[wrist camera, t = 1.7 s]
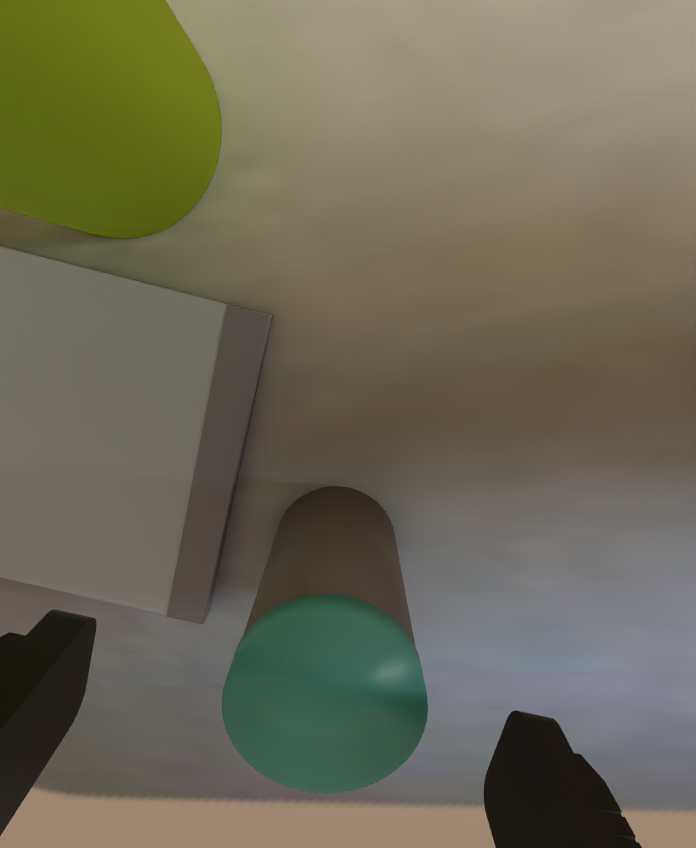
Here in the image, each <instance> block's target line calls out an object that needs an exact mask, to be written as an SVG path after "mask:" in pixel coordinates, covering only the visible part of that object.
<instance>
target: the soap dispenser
mask: <svg viewBox="0 0 696 848" xmlns="http://www.w3.org/2000/svg"><path fill="white" fill-rule="evenodd" d="M220 141H221V119H220V110H219V104H218V100H217V96H216V92H215V89H214V85H213V83H212V80H211V77H210V75H209V73H208V71H207V68H206V67H205V65H204V63H203V61H202V59H201V57H200V56H199V54H198V52H197V51H196V49H195V48H194V46H193V44H192V43H191V41H190V39H189V38H188V36H187V34H186V33H185V31H184V30H183V28H182V26H181V25H180V23H179V21H178V20H177V18H176V16H175V15H174V13H173V11H172V10H171V8H170V7H169V5H168V3H167V2H166V0H0V208H1V209H4V210H8V211H12V212H15V213H19V214H22V215H26V216H29V217H33V218H37V219H40V220H44V221H47V222H51V223H54V224H58V225H62V226H65V227H69V228H72V229H76V230H79V231H83V232H87V233H90V234H94V235H97V236H102V237H108V238H120V239H125V238H137V237H142V236H146V235H150V234H153V233H156V232H158V231H161V230H163V229H165V228H167V227H169V226H170V225H172V224H174V223H175V222H177V221H178V220H179V219H181V218H182V217H183V216H184V215H185V214H187V213H188V212H189V211H190V210H191V209H192V207H193V206H194V205H195V204H196V203H197V202H198V200H199V199H200V197H201V196H202V194H203V193H204V191H205V190H206V188H207V186H208V184H209V182H210V180H211V178H212V175H213V172H214V170H215V167H216V163H217V159H218V155H219V149H220Z"/></svg>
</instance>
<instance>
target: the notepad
mask: <svg viewBox="0 0 696 848" xmlns="http://www.w3.org/2000/svg"><path fill="white" fill-rule="evenodd" d="M272 316H273V315H270V314H266V313H262V312H258V311H254V310H250V309H246V308H243V307H239V306H235V305H231V304H227V303H223V302H219V301H215V300H211V299H207V298H204V297H200V296H196V295H192V294H188V293H184V292H180V291H176V290H172V289H168V288H164V287H161V286H157V285H153V284H149V283H145V282H141V281H137V280H133V279H129V278H125V277H122V276H118V275H114V274H110V273H106V272H102V271H98V270H94V269H90V268H86V267H82V266H79V265H75V264H71V263H67V262H63V261H59V260H55V259H51V258H47V257H43V256H40V255H36V254H32V253H28V252H24V251H20V250H16V249H12V248H8V247H4V246H0V578H4V579H9V580H13V581H17V582H22V583H26V584H31V585H35V586H40V587H44V588H48V589H53V590H57V591H62V592H66V593H70V594H75V595H79V596H84V597H88V598H92V599H97V600H101V601H106V602H110V603H115V604H119V605H123V606H128V607H132V608H137V609H141V610H145V611H150V612H154V613H159V614H163V615H166V616H168V617H173V618H177V619H182V620H186V621H190V622H195V623H199V624H204V622H205V620H206V617H207V615H208V613H209V609H210V604H211V600H212V595H213V590H214V586H215V581H216V576H217V572H218V567H219V562H220V558H221V553H222V548H223V544H224V539H225V534H226V530H227V525H228V520H229V516H230V511H231V506H232V502H233V497H234V492H235V488H236V483H237V478H238V474H239V469H240V464H241V460H242V455H243V451H244V446H245V441H246V437H247V432H248V427H249V423H250V418H251V413H252V409H253V404H254V399H255V395H256V390H257V385H258V381H259V376H260V371H261V367H262V362H263V357H264V353H265V348H266V343H267V339H268V334H269V329H270V325H271V320H272Z"/></svg>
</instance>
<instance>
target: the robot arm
mask: <svg viewBox="0 0 696 848" xmlns="http://www.w3.org/2000/svg"><path fill="white" fill-rule="evenodd" d="M95 632H96V619H95V618H91V617H86V616H82V615H77V614H72V613H68V612H63V611H59V610H51V611H50V612H48V613H47V614H46V615H45V616H44V617H43V618H42V619H41V621H40V622H39V623H38V624H37V625H36V626H35V627H34V628H33V629H32V630H31V631H30V632H29V633H28V634H27V635H26V636H25V635H20V634H15V633H10V632H9V633H7V634H6V635H4V636H2V637H0V836H1V834H2V832H3V831H4V829H5V828H6V826H7V825H8V823H9V822H10V820H11V818H12V817H13V815H14V814H15V812H16V811H17V809H18V807H19V806H20V804H21V803H22V801H23V800H24V798H25V797H26V795H27V794H28V792H29V791H30V789H31V787H32V786H33V784H34V783H35V781H36V780H37V778H38V777H39V775H40V774H41V772H42V770H43V769H44V767H45V766H46V764H47V763H48V761H49V760H50V758H51V756H52V755H53V753H54V752H55V750H56V749H57V747H58V746H59V744H60V742H61V741H62V739H63V738H64V736H65V735H66V733H67V732H68V730H69V728H70V727H71V725H72V723H73V721H74V719H75V717H76V715H77V713H78V711H79V708H80V706H81V703H82V700H83V697H84V694H85V690H86V684H87V679H88V673H89V667H90V661H91V655H92V650H93V644H94V638H95ZM484 805H485V811H486V815H487V818H488V822H489V825H490V829H491V832H492V836H493V839H494V843H495V846H496V848H642V847H641V846H640V844H639V843H637V842H636V841H635V835H634V833H633V831H632V829H631V828H630V826H629V824H628V822H627V820H626V819H625V817H622V816H621V810H620V808H619V806H618V804H617V802H616V801H615V799H614V797H613V795H612V793H611V792H610V790H609V788H608V786H607V784H606V783H605V781H604V780H603V779H602V778H601V777H600V776H599V774H598V773H597V772H596V771H595V770H594V769H593V768H592V767H591V766H590V764H589V763H588V762H587V761H586V760H585V759H584V758H583V757H582V756H581V755H580V754H575V753H573V751H572V749H571V747H570V745H569V743H568V741H567V739H566V737H565V735H564V733H563V731H562V730H561V728H560V726H559V724H558V723H557V722H556V721H555V720H554V719H552V718H548V717H544V716H539V715H534V714H530V713H525V712H520V711H513V712H511V713H510V715H509V716H508V718H507V721H506V723H505V726H504V728H503V731H502V734H501V736H500V739H499V742H498V744H497V747H496V749H495V752H494V755H493V757H492V760H491V762H490V765H489V768H488V770H487V773H486V777H485V783H484Z"/></svg>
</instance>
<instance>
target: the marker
mask: <svg viewBox="0 0 696 848" xmlns="http://www.w3.org/2000/svg"><path fill="white" fill-rule="evenodd" d="M427 712H428V704H427V694H426V689H425V683H424V678H423V673H422V668H421V663H420V658H419V655H418V653H417V650H416V647H415V643H414V638H413V632H412V627H411V622H410V616H409V611H408V605H407V600H406V594H405V589H404V583H403V578H402V573H401V567H400V562H399V556H398V551H397V545H396V540H395V535H394V530H393V526H392V523H391V521H390V519H389V517H388V515H387V514H386V512H385V511H384V509H383V508H382V507H381V506H380V505H379V504H378V503H377V502H376V501H375V500H373V499H372V498H371V497H369V496H367V495H366V494H364V493H362V492H359V491H357V490H354V489H350V488H344V487H326V488H321V489H317V490H314V491H311V492H309V493H307V494H305V495H304V496H302V497H300V498H299V499H298V500H296V501H295V502H294V503H293V504H292V505H291V506H290V507H289V508H288V510H287V511H286V513H285V514H284V516H283V518H282V520H281V522H280V525H279V528H278V531H277V534H276V537H275V540H274V543H273V546H272V549H271V552H270V556H269V559H268V562H267V565H266V568H265V571H264V574H263V577H262V580H261V583H260V586H259V589H258V592H257V595H256V598H255V601H254V604H253V608H252V611H251V614H250V617H249V620H248V623H247V626H246V629H245V632H244V635H243V637H242V638H241V640H240V642H239V644H238V646H237V649H236V652H235V655H234V658H233V661H232V664H231V666H230V669H229V672H228V675H227V679H226V682H225V685H224V689H223V696H222V713H223V719H224V724H225V727H226V730H227V733H228V735H229V737H230V739H231V741H232V743H233V745H234V746H235V748H236V749H237V750H238V752H239V753H240V754H241V756H242V757H243V758H244V759H245V760H246V761H247V762H248V763H249V764H250V765H251V766H252V767H254V768H255V769H256V770H257V771H259V772H260V773H262V774H263V775H265V776H266V777H268V778H270V779H272V780H274V781H275V782H277V783H280V784H282V785H285V786H288V787H291V788H294V789H298V790H302V791H308V792H316V793H336V792H345V791H351V790H355V789H359V788H362V787H365V786H368V785H370V784H373V783H375V782H377V781H379V780H381V779H383V778H385V777H386V776H388V775H389V774H391V773H392V772H394V771H395V770H396V769H398V768H399V767H400V766H401V765H402V764H403V763H404V762H405V761H406V760H407V759H408V757H409V756H410V755H411V754H412V753H413V751H414V750H415V748H416V746H417V745H418V743H419V741H420V739H421V737H422V734H423V732H424V728H425V725H426V721H427Z"/></svg>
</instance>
